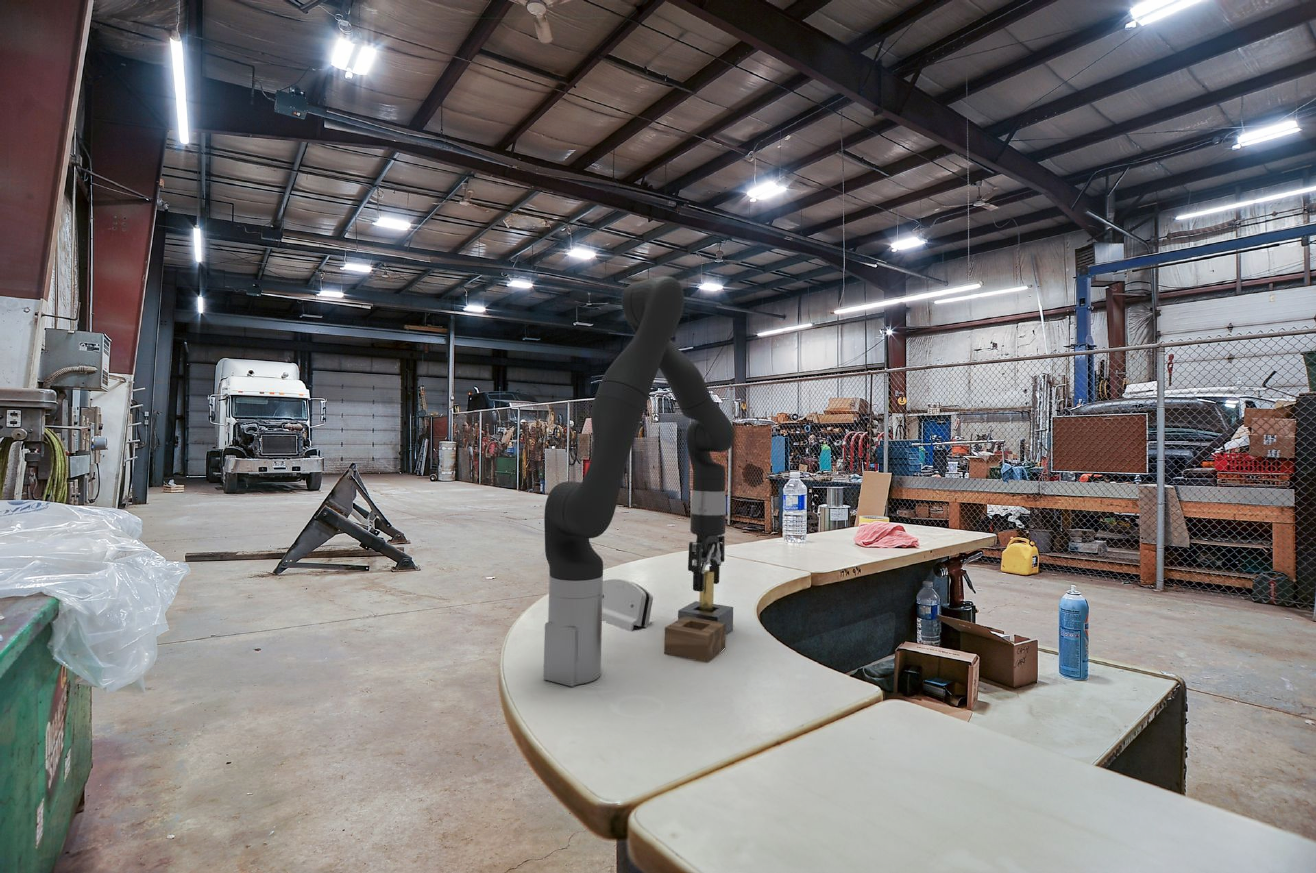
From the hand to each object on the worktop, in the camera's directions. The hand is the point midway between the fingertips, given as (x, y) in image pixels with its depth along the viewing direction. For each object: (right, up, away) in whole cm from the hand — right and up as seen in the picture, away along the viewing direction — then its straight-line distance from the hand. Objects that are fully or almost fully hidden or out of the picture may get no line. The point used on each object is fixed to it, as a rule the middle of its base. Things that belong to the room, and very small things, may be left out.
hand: (706, 586), depth 129 cm
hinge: (-19, -10, +8) cm, 23 cm away
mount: (-3, -10, -12) cm, 16 cm away
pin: (0, -10, 0) cm, 10 cm away
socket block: (0, -10, 0) cm, 10 cm away
